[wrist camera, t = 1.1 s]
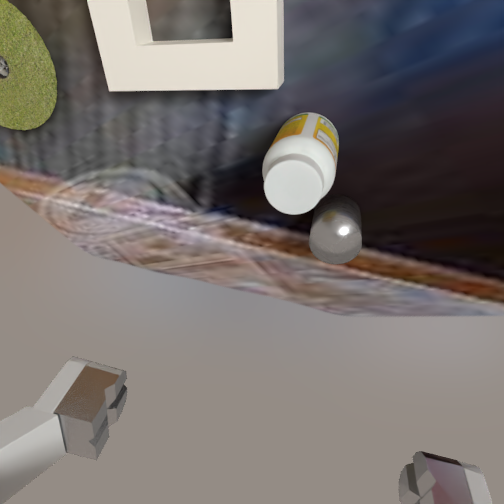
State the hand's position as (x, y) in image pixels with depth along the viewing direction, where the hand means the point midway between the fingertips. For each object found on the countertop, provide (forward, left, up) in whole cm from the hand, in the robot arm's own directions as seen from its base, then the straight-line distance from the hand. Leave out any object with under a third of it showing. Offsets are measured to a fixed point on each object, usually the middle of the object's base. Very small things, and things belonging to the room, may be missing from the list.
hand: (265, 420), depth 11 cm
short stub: (-2, +8, -27) cm, 29 cm away
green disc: (+28, -6, -28) cm, 40 cm away
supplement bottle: (+1, +1, -28) cm, 28 cm away
